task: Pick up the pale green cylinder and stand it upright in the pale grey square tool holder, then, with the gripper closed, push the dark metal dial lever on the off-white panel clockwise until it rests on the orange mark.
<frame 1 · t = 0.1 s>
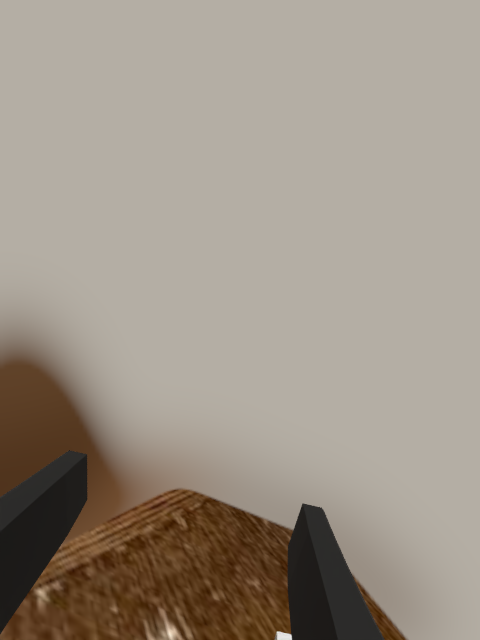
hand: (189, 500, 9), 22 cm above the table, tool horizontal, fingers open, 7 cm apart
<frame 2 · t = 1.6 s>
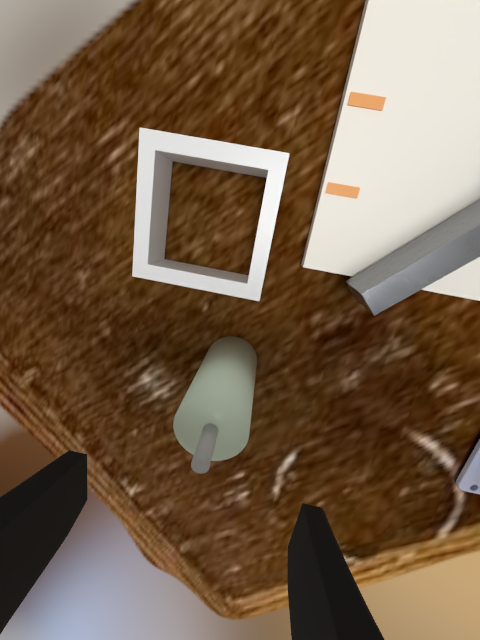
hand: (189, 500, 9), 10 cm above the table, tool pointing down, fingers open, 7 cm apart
dial panel: (456, 171, 14), on the table
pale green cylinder: (231, 359, 19), on the table
tool holder: (213, 221, 17), on the table
dial lever: (477, 227, 13), point 3 cm above the table, hinge at 45.0°
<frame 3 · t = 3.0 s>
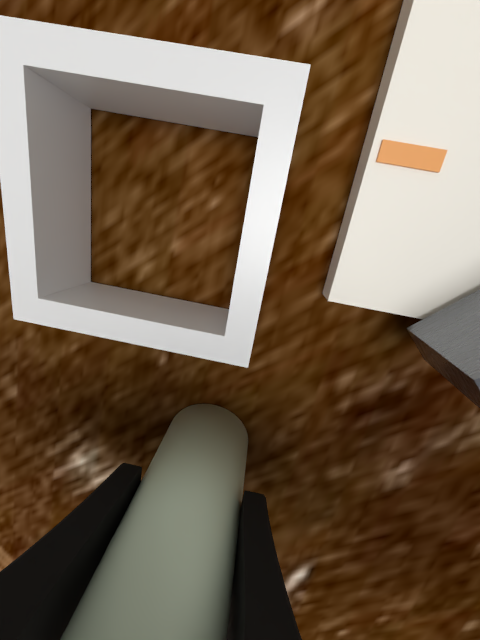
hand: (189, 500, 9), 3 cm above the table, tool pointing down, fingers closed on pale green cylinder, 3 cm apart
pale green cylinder: (208, 438, 12), on the table, touching gripper
tool holder: (169, 217, 9), on the table
when the fingers open (4 cm above the table, at t = 6.2 s): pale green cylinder stays where it is, resting in tool holder.
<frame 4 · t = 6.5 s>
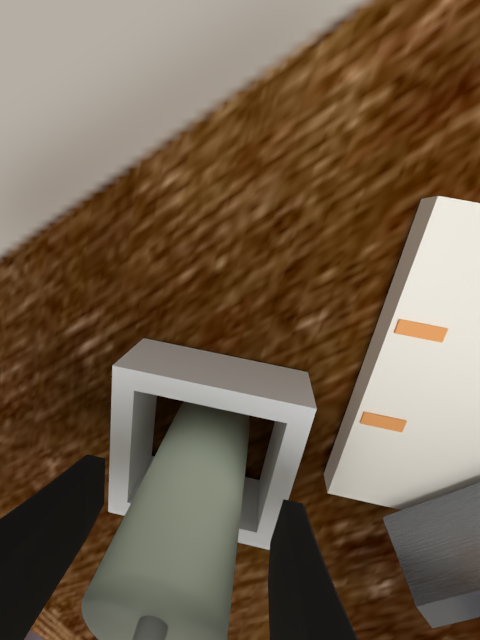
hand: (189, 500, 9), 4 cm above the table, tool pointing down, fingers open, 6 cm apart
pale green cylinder: (213, 423, 13), resting in tool holder
tool holder: (212, 422, 13), on the table
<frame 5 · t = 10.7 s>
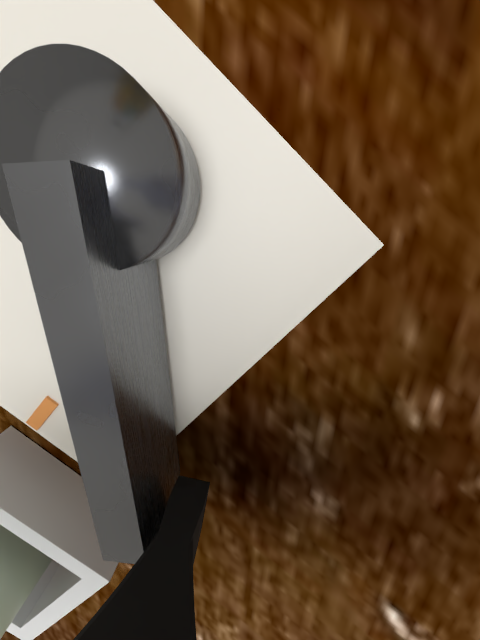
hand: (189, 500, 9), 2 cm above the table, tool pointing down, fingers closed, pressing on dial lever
dial panel: (94, 264, 10), on the table
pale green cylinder: (42, 510, 14), resting in tool holder
tool holder: (41, 510, 14), on the table
dial lever: (118, 341, 7), point 3 cm above the table, hinge at 43.9°, touching gripper
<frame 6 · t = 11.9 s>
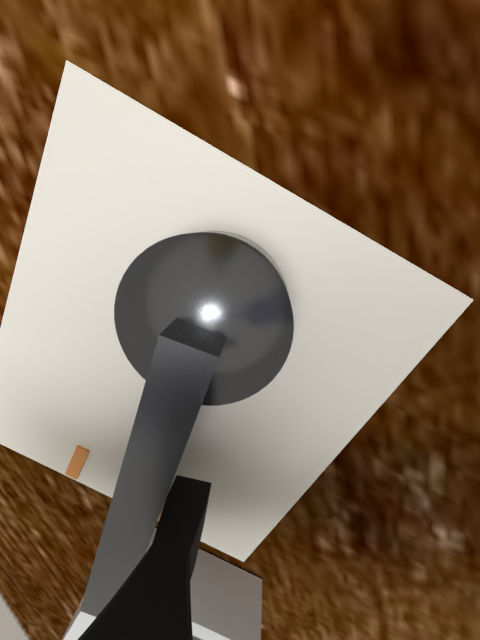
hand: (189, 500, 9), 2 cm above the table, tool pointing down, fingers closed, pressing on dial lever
dial panel: (187, 363, 10), on the table
tool holder: (168, 586, 15), on the table
dial lever: (165, 438, 8), point 3 cm above the table, hinge at 8.3°, touching gripper
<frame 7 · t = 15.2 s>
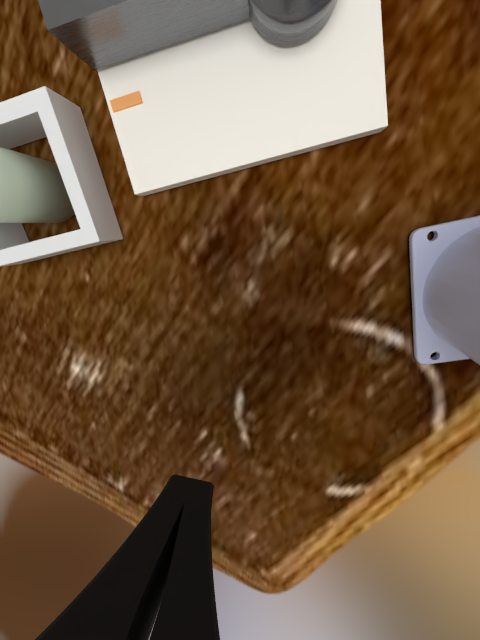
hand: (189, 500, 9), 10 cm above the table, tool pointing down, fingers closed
dial panel: (227, 30, 14), on the table
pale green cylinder: (51, 193, 17), resting in tool holder
tool holder: (50, 192, 17), on the table
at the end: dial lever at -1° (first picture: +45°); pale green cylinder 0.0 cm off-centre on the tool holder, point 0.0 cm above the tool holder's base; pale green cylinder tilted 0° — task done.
